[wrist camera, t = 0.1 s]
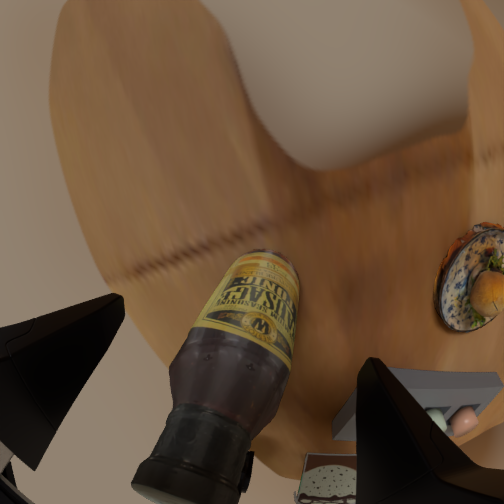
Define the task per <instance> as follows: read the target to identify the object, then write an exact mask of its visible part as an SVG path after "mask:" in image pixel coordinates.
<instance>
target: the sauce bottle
mask: <svg viewBox="0 0 504 504" xmlns="http://www.w3.org/2000/svg"><path fill="white" fill-rule="evenodd" d="M298 303H299V280H298V274H297V271H296V270H295V268H294V266H293V265H292V263H291V262H290V261H289V260H288V258H287V257H285V256H283V255H282V254H281V253H279V252H276V251H272V250H265V249H262V250H260V249H254V250H252V251H250V252H248V253H246V254H244V255H242V256H241V257H240V258H238V259H237V260H236V261H235V262H234V263H233V264H232V265H231V267H230V268H229V270H228V271H227V273H226V274H225V276H224V277H223V279H222V281H221V282H220V283H219V285H218V286H217V288H216V290H215V291H214V293H213V294H212V296H211V297H210V299H209V300H208V302H207V303H206V305H205V307H204V308H203V310H202V311H201V313H200V315H199V316H198V318H197V320H196V321H195V323H194V325H193V326H192V328H191V330H190V331H189V333H188V337H187V339H186V340H185V342H184V344H183V345H182V347H181V349H180V350H179V352H178V354H177V355H176V357H175V358H174V360H173V361H172V363H171V364H170V367H169V376H170V386H171V394H172V398H173V409H172V411H171V412H170V414H169V415H168V418H167V420H166V426H165V428H164V430H163V432H162V434H161V435H160V437H159V440H158V442H157V444H156V446H155V447H154V449H153V451H152V453H151V455H150V457H148V458H147V459H146V460H144V461H143V462H142V463H141V464H140V465H139V467H138V469H137V472H136V474H135V476H134V478H133V480H132V482H131V486H132V488H133V489H134V490H135V491H136V492H138V493H139V494H140V495H142V496H143V497H145V498H147V499H148V500H150V501H152V502H154V503H156V504H238V502H239V499H240V496H239V492H238V488H237V486H238V483H239V482H240V476H241V471H242V469H243V467H244V462H245V458H246V453H247V452H248V450H249V449H250V447H251V441H252V440H253V439H254V438H255V437H256V436H257V435H258V434H259V433H260V431H261V430H262V429H263V428H264V427H265V426H266V425H267V424H268V423H270V422H271V420H272V419H273V418H274V416H275V414H276V412H277V410H278V407H279V404H280V401H281V398H282V395H283V392H284V389H285V387H286V384H287V381H288V378H289V374H290V369H291V363H292V356H293V348H294V339H295V331H296V321H297V312H298Z"/></svg>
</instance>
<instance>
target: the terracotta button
mask: <svg viewBox="0 0 504 504" xmlns="http://www.w3.org/2000/svg"><path fill="white" fill-rule="evenodd" d="M450 423H451V427H452V430H453V433H454V436H455V437H461V436H463V435H465V434H467V433H469V432H470V431H472V430H473V429H474V428H475V427H476V426H477V425H478V420H477V417H476V415H475V412H474V410H473V407H472V406H466V407H464V408H462V409H460V410H458V411H457V412H456V413H455V414H453V415H452V417H451V418H450Z"/></svg>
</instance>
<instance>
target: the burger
mask: <svg viewBox="0 0 504 504" xmlns="http://www.w3.org/2000/svg"><path fill="white" fill-rule="evenodd" d="M442 261H443V263H442V262H441V263H442V264H440V266H439V269H438V272H437V275H436V278H435V284H434V299H433V300H434V304H435V309H436V311H437V313H438V315H439V316H440V317H441V318H442V320H443V321H444V323H445V324H446V325H447V326H448V327H449V328H451V329H452V330H454V331H457V332H470V331H475V330H477V329H479V328H482V327H483V326H485V325H486V324H487V323H489V322H490V321H492V320H493V319H494V318H495V317H496V316H497V315H498V314H499V313H500V312H501V311H502V310H503V309H504V227H503V228H502V227H501V225H499V224H497V225H496V224H492V223H487V222H483V223H480V225H475V226H474V229H472V230H470V231H468V234H466V235H465V236H464V237H463V238H458V239H457V240H456V241H455V242H454V244H453V245H452V246H451V247H450V249H449V252H448V256H447V257H446V258H445V259H444V258H443V260H442Z"/></svg>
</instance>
